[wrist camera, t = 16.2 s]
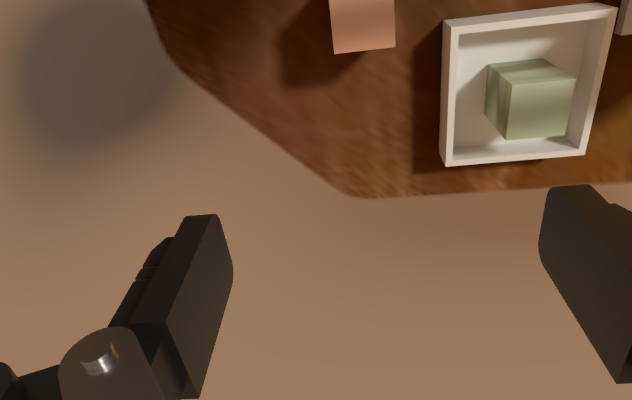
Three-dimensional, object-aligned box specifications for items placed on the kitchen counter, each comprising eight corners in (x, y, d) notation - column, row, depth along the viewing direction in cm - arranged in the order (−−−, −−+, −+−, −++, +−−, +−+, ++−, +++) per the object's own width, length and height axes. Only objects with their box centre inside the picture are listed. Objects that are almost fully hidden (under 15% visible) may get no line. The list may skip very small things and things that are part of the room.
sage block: (488, 63, 37) (512, 84, 32) (542, 58, 37) (575, 78, 32) (483, 113, 39) (505, 140, 34) (534, 108, 39) (564, 135, 34)
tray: (442, 20, 36) (451, 27, 33) (596, 2, 35) (618, 7, 32) (438, 152, 42) (445, 166, 40) (568, 140, 41) (584, 154, 39)
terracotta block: (328, -21, 35) (327, -13, 30) (384, -29, 34) (393, -22, 29) (334, 37, 37) (334, 54, 32) (386, 31, 37) (395, 46, 32)
